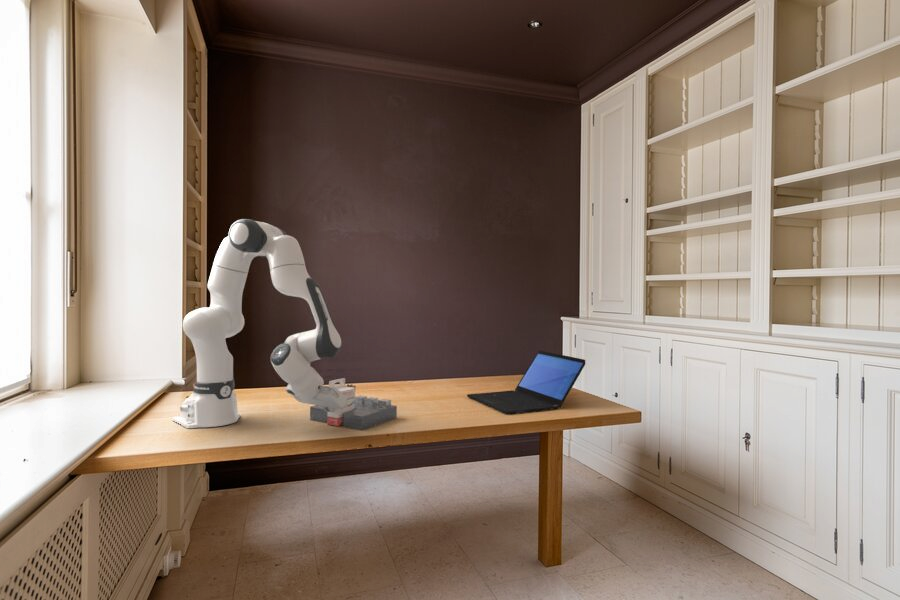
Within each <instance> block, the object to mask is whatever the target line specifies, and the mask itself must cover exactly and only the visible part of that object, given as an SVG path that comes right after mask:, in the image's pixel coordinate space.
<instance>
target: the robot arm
mask: <svg viewBox="0 0 900 600" xmlns="http://www.w3.org/2000/svg"><path fill="white" fill-rule="evenodd" d="M301 248H302V247H301V246H300V243H299V242H298V240H297V239H296V238H295V237H294V236H291V235H288V234H287V232H285V231H284V230H283V229H281V228H280V227H278V226H274V225H272V224H269V223H267V222H264V221H257V220H254V219H251V218H250V219H249V218H241V219H237V220H236V221H234V222H233V223H232V224H231V225H230V228H229V231H228V235H227V236H226V237H224V238H223V240H222V242H221V243H220V245H219V248H218V250H217V251H216V253H215V257H214V260H213V262H212V267H211V271H210V275H209V278H208V281H207V290H208V291H209V293H210V294H209V295H210V304H209V307H208V306H207V307H199V308H196V309H194V310H192V311H190V312H188V313H187V314H186V315H185V316H184V318H183V320H182V330H183V333H184V334H185V335H186V337H188V339H189V340H190V342H191V343H192V346H193V347H192V348H193V350H194V353H195V360H196V381H195V382H193V384H192V387H193V390H192V393H191V394H190V395H188V397H187V398H186V399H185V400H183V401H182V402H181V404H180V405H181V406H179V407H180V409H179V410H180V414H179V415H175V416H174V417H172V421H173V420H174V421H175V423H176V422H177V423H176V424H178V423H179V424H178V425H180V424H181V425H180V426H182V427H184V428H187V429H196V428H197V429H198V428H215V427H216V428H217V427H222V426H226V425H231V424H234V423H236V422H237V421H239V418H241V413H240V412H239V410H238V400H237V394H236V393H235V384H236V383H235V379H234V357H233V355H232V354H231V352H230V351H229V349H228V345H227V342H226V339H227V338H231V337H234V336H235V335H237V334H238V333H239V334H240V332H242V330H243V328H244V326H245V318H244V315H243V311H242V306H243V305H242V303H243V294H244V293H243V292H244V289H245V285H246V282H247V278H248V273H249V271H250V270H249V269H250V266H251V263H252V261H253V260H254V258H256V257H259V258H260V259H267V261H268V266H269V272H270V279H271V283H272V285H273V287H274V288H275V290H276V291H278V292H279V293H280V294H283V295H284V296H289V297H295V298H301V299H303V300H305V301H306V302H307V304H308V305H309V307H310V311H311V314H312V315H313V319H314V322H315V325H316V326H315V328H314V329H311V330H307V331H306V330H305V331H302V332H297V333H294V334H292V335H289V336H287V337H286V339H285V340H284V342H283V343H280V344H279V345H277V346H276V347H275V348H274V349H273V351H272V352H271V354H270V363H271V365H272V367H273V369H274V370H275V372H276V373H277V375H278V376H279V377H280V378H281V379H282V380H283V381H284V382H285V383H287V386H286V387H285V389H284V391H285V392H286V393H287V394H290V396H292V398H294V399H295V400H296V401H297V402H299V403H301V404H306V405H307V404H308V405H312V406H315V405H318V406H320V407H321V408H323V409H324V410H325V411H327V412H334V410H335V409H341V410H342V409H343V408H344V407H345V405H346V403H347V398H346V397H345V396H344V395H343V394H342V393H341V392H340V391H339V390H337V389H336V388H334V387H329V385H324V383H325V382H324V379H323V377H322V376H321V375H320V374H319V373H318V371H316V369H315V368H314V367H312V366H311V363H312V362H315V361H318V360H326V359H334V358H335V357H336V356H338V353H339V352H340V350H341V348H342V344H343V341H342V338H341V334H340V333H339V330H338V329H337V326H336V325H335V323H334V320H333V317H332V315H331V311H330V309H329V307H328V304H327V301H326V299H325V295H324V293H323V290H322V288H321V286H320V283H319V282H318V281H317V280H316V279H315V278H312V277H311V276H310V274H309V273H308V271H307V267H306V262H305V258H304V255H303V251H302V249H301ZM174 421H173V422H174Z"/></svg>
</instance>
